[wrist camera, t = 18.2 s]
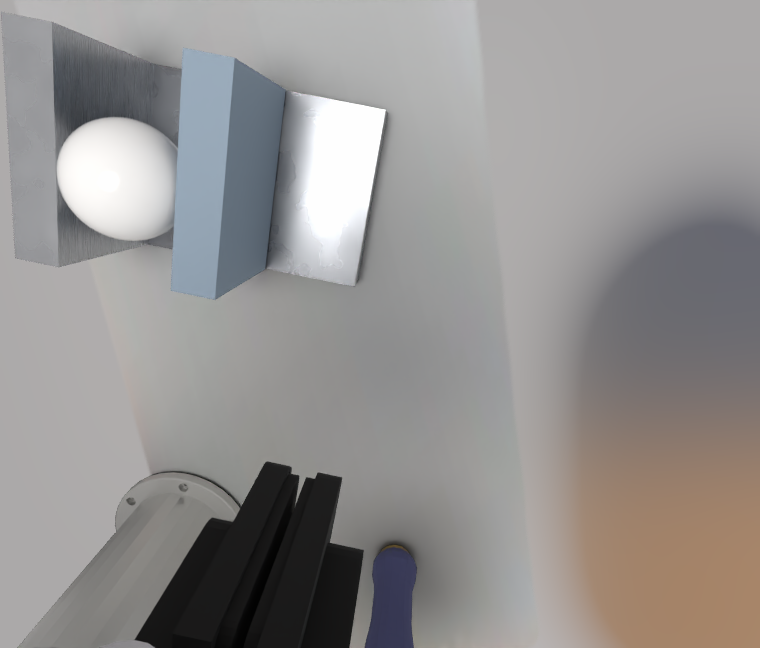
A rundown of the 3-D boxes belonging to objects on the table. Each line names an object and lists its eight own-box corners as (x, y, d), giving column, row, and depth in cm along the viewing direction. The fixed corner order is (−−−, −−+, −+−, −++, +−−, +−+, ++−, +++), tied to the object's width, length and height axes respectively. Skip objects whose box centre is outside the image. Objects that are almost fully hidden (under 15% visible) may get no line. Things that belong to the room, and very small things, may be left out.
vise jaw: (265, 269, 34) (215, 299, 26) (231, 262, 34) (170, 290, 26) (285, 89, 30) (234, 58, 22) (248, 82, 30) (182, 47, 22)
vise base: (357, 280, 36) (332, 324, 26) (131, 234, 37) (15, 258, 26) (387, 113, 32) (372, 84, 22) (134, 63, 33) (0, 11, 22)
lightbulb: (167, 123, 32) (21, 95, 22) (253, 143, 31) (146, 123, 21) (160, 216, 34) (25, 230, 24) (242, 237, 33) (139, 261, 23)
